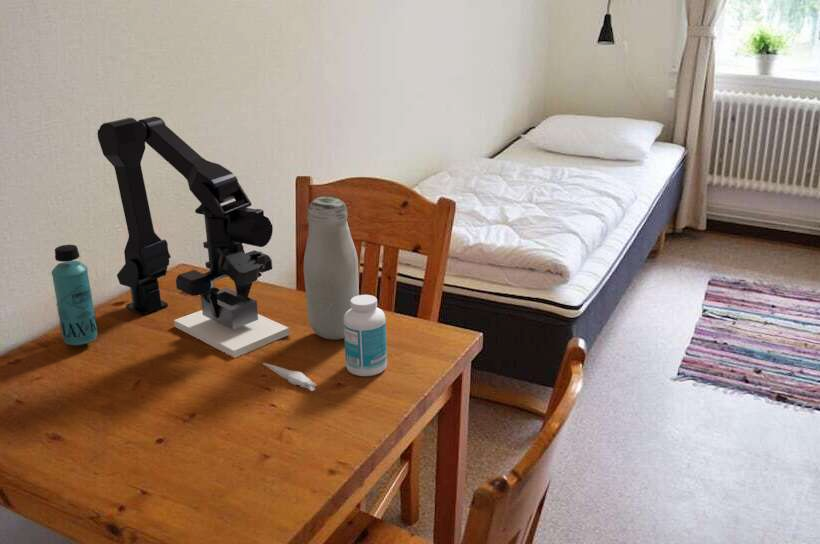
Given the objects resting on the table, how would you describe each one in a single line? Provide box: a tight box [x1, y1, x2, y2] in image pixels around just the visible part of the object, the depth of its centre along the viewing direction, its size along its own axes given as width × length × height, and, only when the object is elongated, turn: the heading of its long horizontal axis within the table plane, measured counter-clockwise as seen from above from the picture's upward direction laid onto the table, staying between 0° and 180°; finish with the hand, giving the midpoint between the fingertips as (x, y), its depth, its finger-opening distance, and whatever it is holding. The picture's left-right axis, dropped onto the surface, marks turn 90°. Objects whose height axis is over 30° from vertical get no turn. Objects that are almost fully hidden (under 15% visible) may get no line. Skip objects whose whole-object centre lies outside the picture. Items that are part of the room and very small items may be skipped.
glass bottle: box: [303, 196, 360, 341], centre depth 153 cm, size 10×10×28 cm
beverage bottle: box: [51, 244, 99, 346], centre depth 152 cm, size 6×7×20 cm
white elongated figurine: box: [262, 362, 318, 392], centre depth 143 cm, size 15×3×2 cm, turn 47°
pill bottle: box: [343, 294, 388, 377], centre depth 144 cm, size 8×7×14 cm
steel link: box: [200, 287, 259, 329], centre depth 159 cm, size 10×6×4 cm, turn 48°
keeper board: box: [173, 309, 290, 359], centre depth 160 cm, size 20×13×5 cm, turn 48°
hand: (229, 312), depth 159 cm, fingers closed on steel link, 6 cm apart
